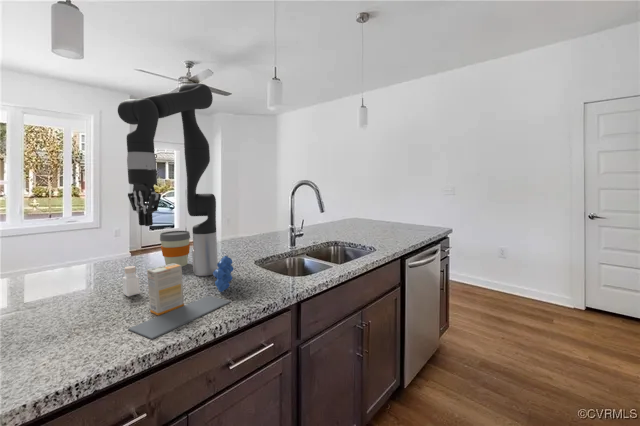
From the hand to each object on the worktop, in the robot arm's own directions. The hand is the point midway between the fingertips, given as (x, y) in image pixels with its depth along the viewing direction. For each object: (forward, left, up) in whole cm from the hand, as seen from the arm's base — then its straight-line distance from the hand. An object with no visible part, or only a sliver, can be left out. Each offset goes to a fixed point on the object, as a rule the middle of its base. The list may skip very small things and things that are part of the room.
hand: (146, 225), depth 93 cm
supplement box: (+8, 0, -25) cm, 26 cm away
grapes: (+10, +20, -25) cm, 34 cm away
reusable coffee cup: (-33, +33, -25) cm, 53 cm away
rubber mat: (+16, 0, -25) cm, 30 cm away
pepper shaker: (-14, +2, -25) cm, 29 cm away
